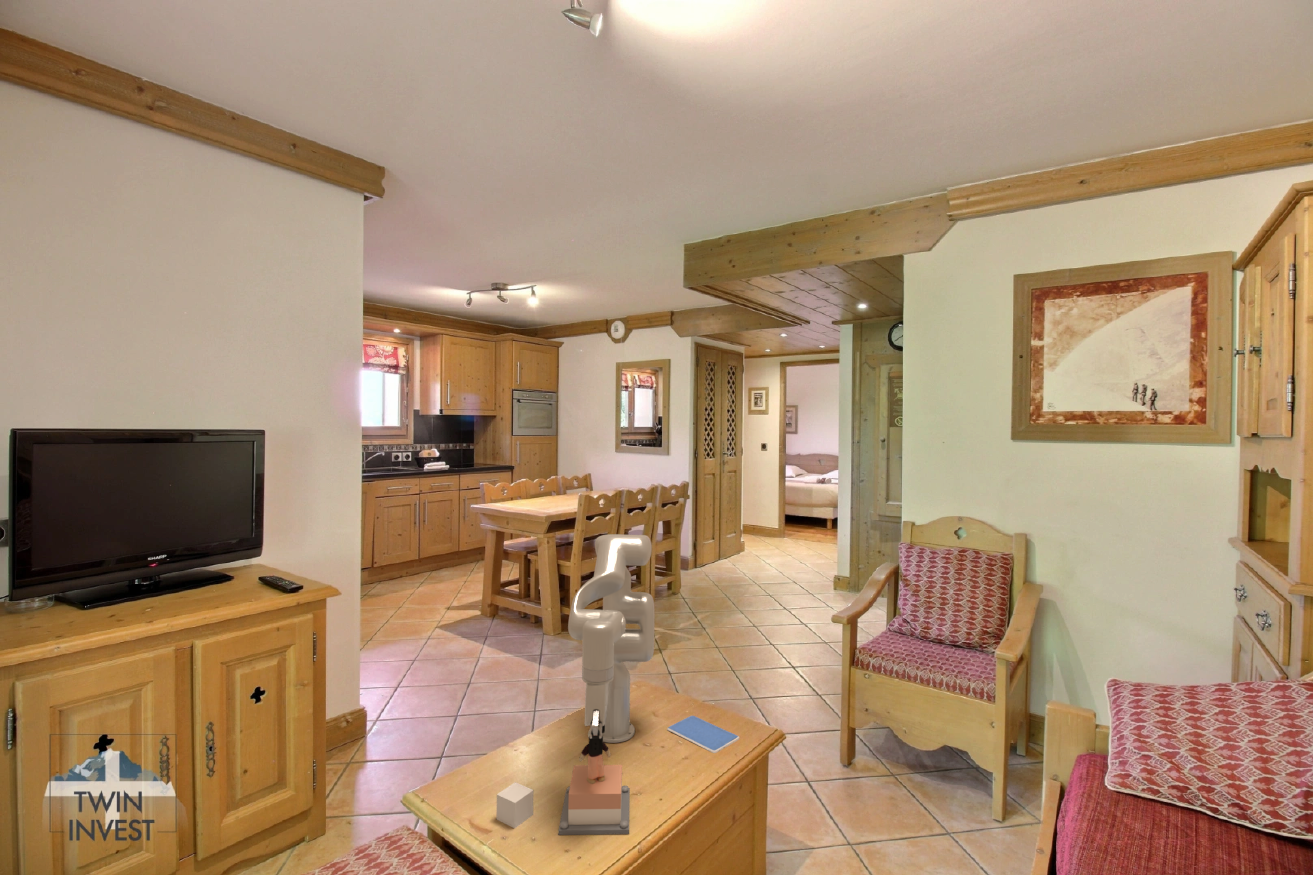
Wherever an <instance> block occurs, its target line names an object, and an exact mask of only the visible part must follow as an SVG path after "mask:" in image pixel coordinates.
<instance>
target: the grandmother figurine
mask: <svg viewBox="0 0 1313 875" xmlns="http://www.w3.org/2000/svg"><path fill="white" fill-rule="evenodd" d="M598 730H599V731H600V727H598ZM587 736H588V739H589V737H590V728H589V730H588V732H587ZM603 753H605V754H606V757H607V758H610V757H611V756H612V754H611V752H610V749H609V746H608V745H607V744H606V742H603ZM586 756H587V765H588V778H587V781H588V782H589V783H590V784H594V783H596V780H595V778H597V779H598V781H600V782H601V781H604V780H605V775H604V765H605V764H604V757H603V754H602V755H590V754H589V743H587V744H586V745H585V746H584V747H583V748H582V750H581V752H580V757H579V758H578V761H579V762H583V761H584V759H585V757H586Z"/></svg>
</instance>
